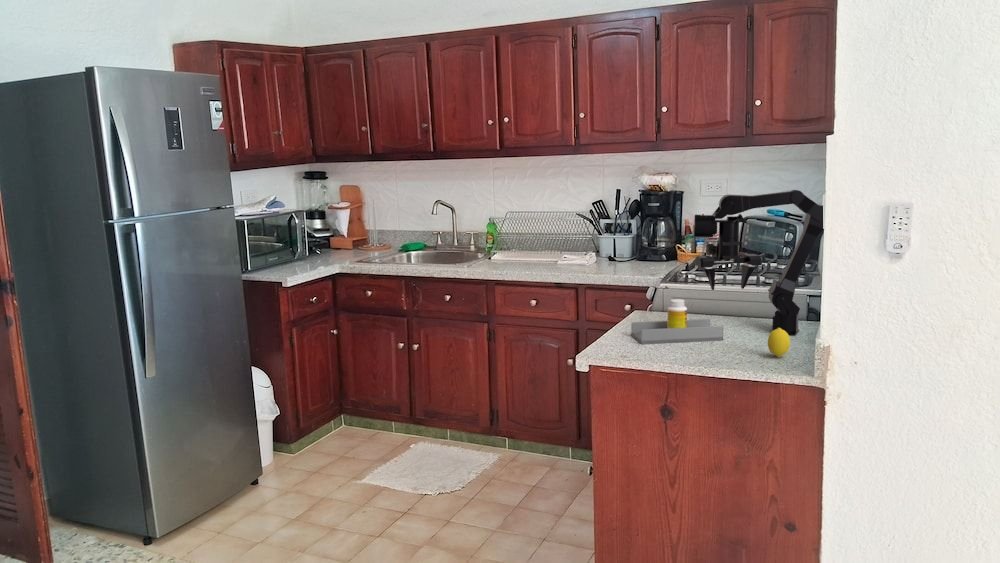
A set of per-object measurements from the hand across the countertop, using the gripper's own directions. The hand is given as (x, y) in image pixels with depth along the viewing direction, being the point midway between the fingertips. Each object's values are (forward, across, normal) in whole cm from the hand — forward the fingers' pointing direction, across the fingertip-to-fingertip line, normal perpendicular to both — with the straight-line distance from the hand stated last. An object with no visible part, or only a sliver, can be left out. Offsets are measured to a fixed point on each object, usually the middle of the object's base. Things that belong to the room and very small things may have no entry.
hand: (727, 289), depth 235 cm
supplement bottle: (+12, +17, +5) cm, 21 cm away
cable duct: (+13, +17, +5) cm, 22 cm away
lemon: (+13, -2, +31) cm, 34 cm away
